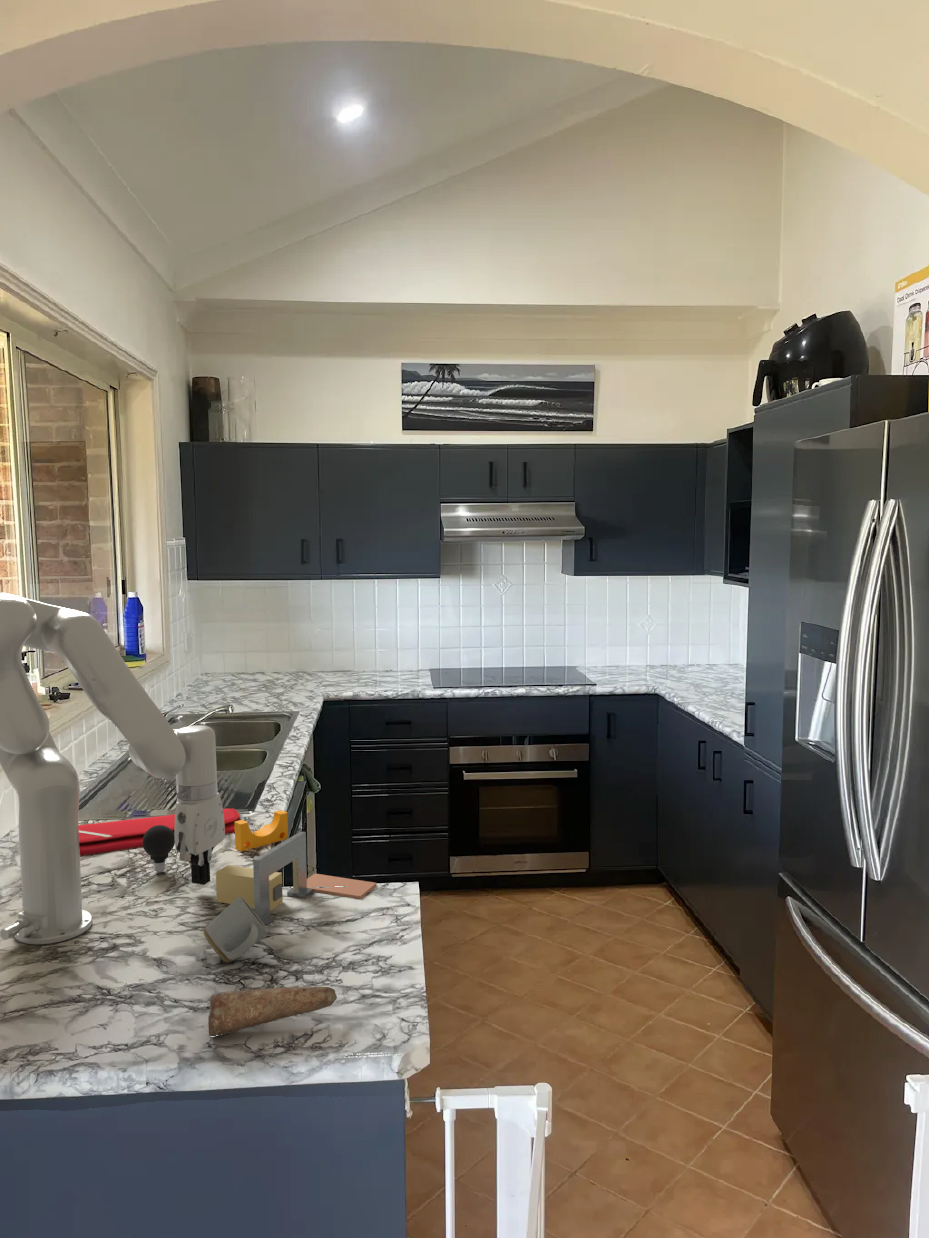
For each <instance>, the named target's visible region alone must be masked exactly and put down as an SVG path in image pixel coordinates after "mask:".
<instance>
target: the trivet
mask: <svg viewBox="0 0 929 1238" xmlns="http://www.w3.org/2000/svg"><path fill="white" fill-rule="evenodd" d="M375 885H377V882H373V881H366V880H362V879H361V880H359V879H353V878H349V877H348V878H346V877H340V876H335V875H334V876H333V875H327V874H320V873H314V874H312V875H311V876H309V877H307V888H310V889H313V893H314V892H315V893H321V894H327V895H332V896H340V897H347V898H351V899H356V900H361V899H363V897H364V896H366V895H367V894H368V893H369V892H370V891H372V890H373V889H374V888H376V886H375ZM335 886H348V887H335ZM312 887H313V888H312ZM315 887H330V888H315Z"/></svg>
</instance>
